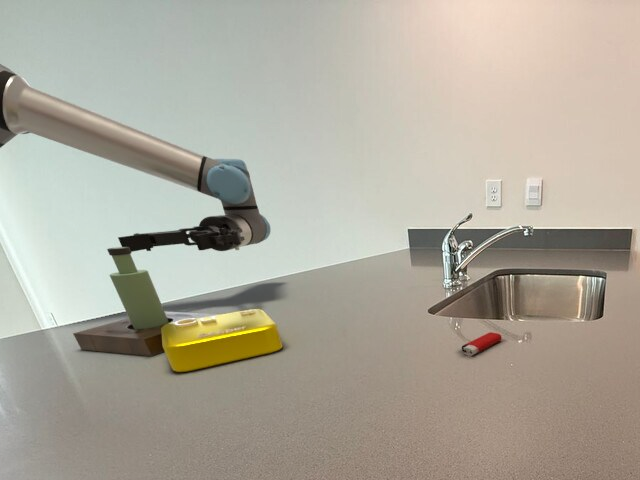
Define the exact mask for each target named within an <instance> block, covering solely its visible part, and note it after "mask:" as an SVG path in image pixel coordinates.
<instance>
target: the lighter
mask: <svg viewBox="0 0 640 480" xmlns="http://www.w3.org/2000/svg"><path fill="white" fill-rule="evenodd" d="M502 339H503V338H502V335H501V334H500V333H497V332H492V331H489V332H487V333H485V334H483V335H481V336H479V337H477V338H475V339H473V340H471V341H469V342H467V343H465V344H463V345H461V350H462V353H463V354H464V355H465V356H467V357H472V356H474V355H476V354H478V353H479V352H482V351H483V350H485V349H487V348H489V347H491V346H493V345H495V344H497V343H499V342H500V341H502Z"/></svg>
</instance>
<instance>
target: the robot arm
mask: <svg viewBox="0 0 640 480" xmlns="http://www.w3.org/2000/svg"><path fill="white" fill-rule="evenodd" d="M26 134H27V135H28V134H32V135H36V136H39V137H41V138H44V139H47V140H50V141H53V142H56V143H58V144H61V145H63V146H64V145H65V146H67V147H70V148H73V149H75V150H79V151H81V152H83V153H88V154H90V155H93V156H96V157H99V158H101V159H104V160H106V161H110V162H113V163H116V164H119V165H122V166H123V167H126V168H130V169H132V170H136V171H138V172H141V173H144V174H147V175H150V176H152V177H155V178H159V179H161V180H165V181H167V182H169V183H173V184H175V185H179V186H181V187H184V188H187V189H190V190H193V191H196V192H199V193H201V194H204V195H206V196H209V197H212V198H215V199H218V200H219V201H220V203H221V205H222V210H223V212H224V214H220V215H210V216H206V217H204V218H203V219H202V220H201V221H200V222H199V223H198V225H196V226H195V225H193V226H192V227H184V228H179V229H175V230H166V231H165V230H164V231H156V232H155V231H154V232H153V231H152V232H144V233H138V232H135V233H133V235H125V236H118V237H117V239H118V241H119V243H120V247H129V248H130V250H131V253H133V252H138V251H144V250H146V252H151V251H152V249H153V248H155V247H165V246H175V245H184V246H188V247H190V246H197V249H198V251H207V250H210V249H211V250H214V251H217V252H226V251H227V252H228V251H231V250H235V251H240V248H241V247H245V246H250V245H251V246H252V245H255V244H260V243H262V242H264V241H266V240H267V239H268V238H269V237H270V235H271V224H270V222H269V221H268V219H267V218H266V216H264V215H263V214H261V213H260V209H259V207H258V203H257V201H256V200H257V199H256V195H255V192H254V188H253V183H252V181H251V175H250V172H249V170H248V167H247V164H246V162H245V161H244V160H242V159H239V158H211V157H208V156H205V155H204V154H201V153H198V152H196V151H194V150H191V149H189V148H186V147H183V146H181V145H178V144H177V143H173V142H171V141H169V140H166V139H163V138H161V137H159V136H156V135H153V134H150V133H148V132H146V131H143V130H141V129H138V128H135V127H133V126H131V125H128V124H125V123H124V122H121V121H118V120H115V119H113V118H111V117H108V116H106V115H103V114H100V113H98V112H96V111H93V110H90V109H87V108H85V107H83V106H81V105H77V104H75V103H72V102H70V101H67V100H66V99H63V98H60V97H57V96H55V95H52V94H50V93H47V92H45V91H42V90H40V89H38V88H35V87H32V85H30V84H29V82H28V81H27V80H26V79H25V78H24V77H22V76H20V75H18V74H17V73H15V72H14V71H13V70H11V69H10V68H8V67H6V66H5V65H3V64H1V63H0V149H1V148H2V147H4V146H5V145H6V144H7V143H9V142H10V141H11V140H13V139H14V138H15V137H16V136H18V135H26ZM190 241H191V242H190Z"/></svg>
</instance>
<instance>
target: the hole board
mask: <svg viewBox="0 0 640 480" xmlns="http://www.w3.org/2000/svg"><path fill="white" fill-rule="evenodd" d="M164 312H165V314H166V317H167V319H168V321H169V323H173V322H176V321H179V320H183V319H190V318H195V319H197V318H203V317H209V316H215V315H220V314H219V313H216V314H215V313H201V312H200V313H196V312H181V311H180V312H179V311H167V310H166V311H165V310H164ZM164 325H165V324H164ZM164 325H161V326H156V327H152V328H145V329H134V328H133V326H132V324H131V321H130V319H129V317H128V318H124V319H121V320H117V321H114V322H113V321H112V322H110V323H106V324H103V325H99V326H95V327H91V328H89V329H88V328H87V329H84V330H80V331H77V332H74V333H73V332H72V335H73V337H74V338H75V340H76V342H77V344H78V346H79V348H80V350H82V351H91V352H99V353H100V352H101V353H113V354H124V355H134V356H142V357H143V356H145V357H154V356H157V355H159V354H162V353H165V351H164V349H163V346H162V332H161V328H162V327H163V326H164Z"/></svg>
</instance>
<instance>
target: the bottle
mask: <svg viewBox="0 0 640 480" xmlns="http://www.w3.org/2000/svg"><path fill="white" fill-rule="evenodd" d="M106 250H107V252H108V255H109V256H111V258H112V260H113V262H114V264H115V267H116V269H117V271H118V272H112V273H110V274H109V277H110V280H111V282H112V284H113V286H114V288H115V290H116V293H117V295H118V297H119V299H120V301H121V303H122V306H123V308H124V310H125V312H126V315H127V317H128V318H129V319H130V321H131V324H132V326H133V328H134V329H145V328H152V327H156V326H161V325H164V324H168V323H169V321H168V319H167V317H166V314H165V312H164V311H165V310H164V307H163V305H162V302H161V300H160V297H159V294H158V292H157V290H156V288H155V285H154V283H153V280H152V278H151V275H150V273H149V270H147V269H138V268H137V266H136V263H135V261H134V259H133V257H132V252H131V250H130V248H129V247H122V246H118V247H110V248H109V247H108V248H106Z"/></svg>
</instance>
